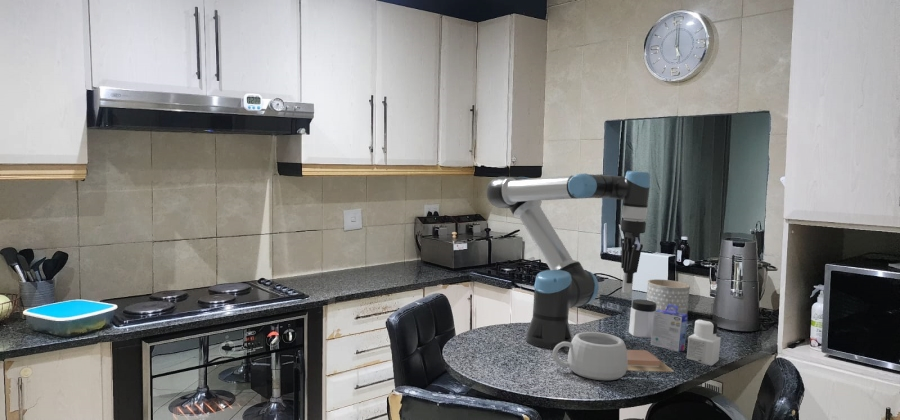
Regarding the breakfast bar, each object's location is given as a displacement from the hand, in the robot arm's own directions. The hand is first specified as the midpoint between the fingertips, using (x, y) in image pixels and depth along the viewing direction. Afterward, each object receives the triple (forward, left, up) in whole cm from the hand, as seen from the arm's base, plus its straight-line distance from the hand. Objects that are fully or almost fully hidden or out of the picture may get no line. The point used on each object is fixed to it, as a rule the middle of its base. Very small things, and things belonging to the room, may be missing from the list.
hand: (626, 292), depth 195 cm
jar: (+14, +19, -19) cm, 31 cm away
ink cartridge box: (+17, +4, -19) cm, 26 cm away
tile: (0, -7, -18) cm, 19 cm away
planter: (+38, +53, -19) cm, 69 cm away
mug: (-18, -21, -19) cm, 34 cm away
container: (+23, -7, -19) cm, 31 cm away
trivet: (0, -12, -19) cm, 22 cm away
